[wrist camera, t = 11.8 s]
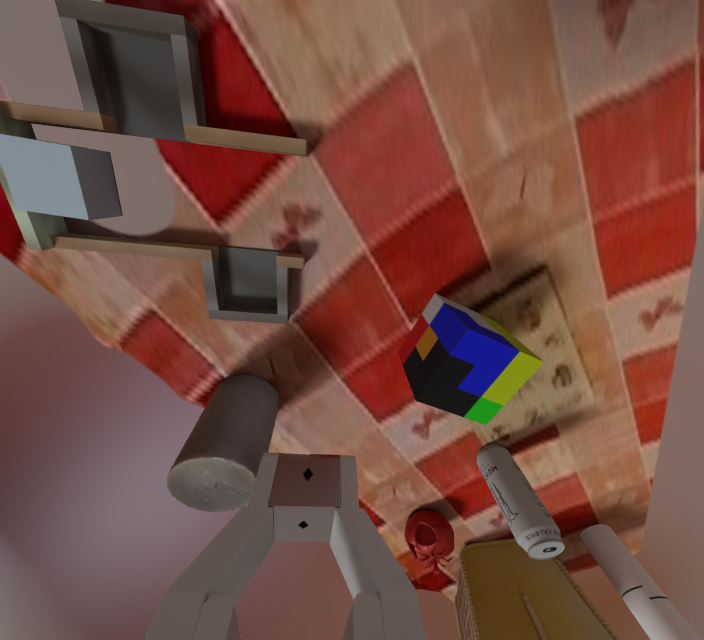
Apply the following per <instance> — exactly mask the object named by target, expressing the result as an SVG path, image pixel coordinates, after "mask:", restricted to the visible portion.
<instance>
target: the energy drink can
mask: <svg viewBox="0 0 704 640" xmlns="http://www.w3.org/2000/svg"><path fill="white" fill-rule="evenodd" d="M477 465H478V466H479V468H480V470H481V472H482V474H483V476H484V478H485V480H486V482H487V484H488V486H489V488H490V490H491V492H492V494H493V496H494V498H495V500H496V502H497V504H498V506H499V508H500V510H501V512H502V514H503V515H504V517H505V519H506V521H507V523H508V525H509V527H510V529H511V531H512V533H513V535H514V537H515V539H516V541H517V543H518V544H519V545H520V546H521V547H522V548H523V549H524V550H525V551H526V552H528V555H529V557H530V558H532V559H535V560H544V559H549V558H552V557H555V556H557V555H559V554H560V553H561V552H562V551H563V550H564V548H565V546H564V544H563V542H562V541H561V534H560V529H559V528H558V526H557V525H556V523H555V522H554V520H553V519H552V517H551V516H550V514H549V512H548V511H547V509H546V508H545V506H544V505H543V503H542V502H541V500H540V499H539V497H538V496H537V494H536V493H535V491H534V490H533V488H532V487H531V485H530V483H529V482H528V480H527V479H526V477H525V476H524V474H523V473H522V471H521V470H520V468H519V467H518V465H517V464H516V462H515V461H514V459H513V457H512V456H511V454H510V453H509V451H508V450H507V449H505V448H503V447H501V446H500V445H495V444H493V445H488V446H485V447H483V448H482V449H481V450H480V451H479V452H478V454H477Z"/></svg>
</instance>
